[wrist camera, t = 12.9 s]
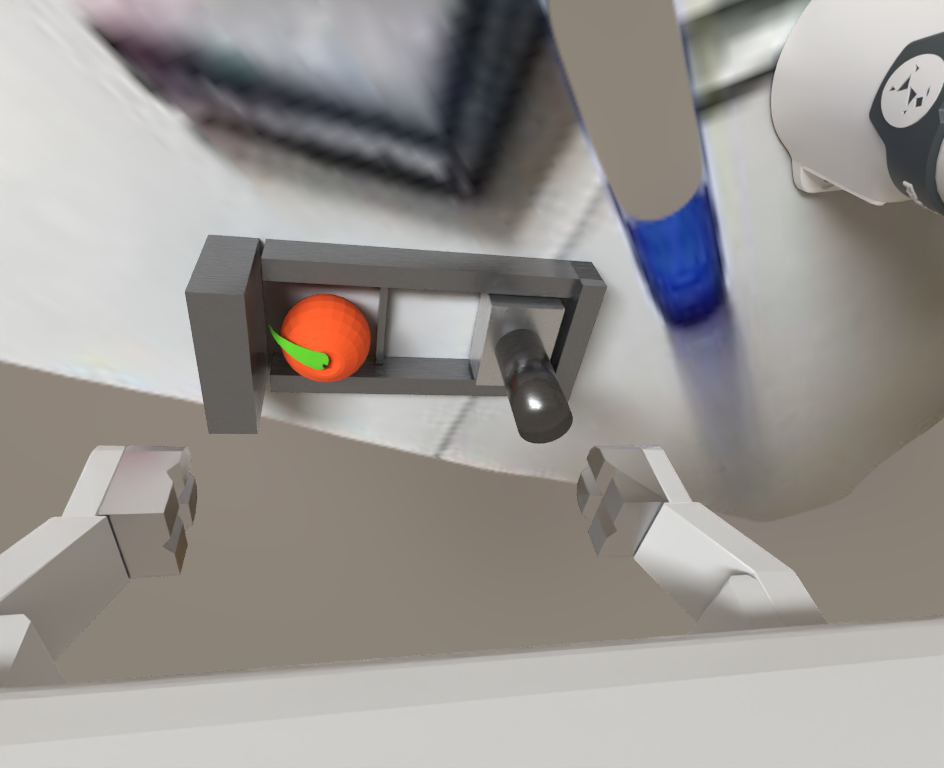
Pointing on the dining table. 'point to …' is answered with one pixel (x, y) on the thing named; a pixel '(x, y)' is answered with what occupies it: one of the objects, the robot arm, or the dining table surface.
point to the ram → (522, 360)
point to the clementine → (324, 338)
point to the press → (244, 333)
